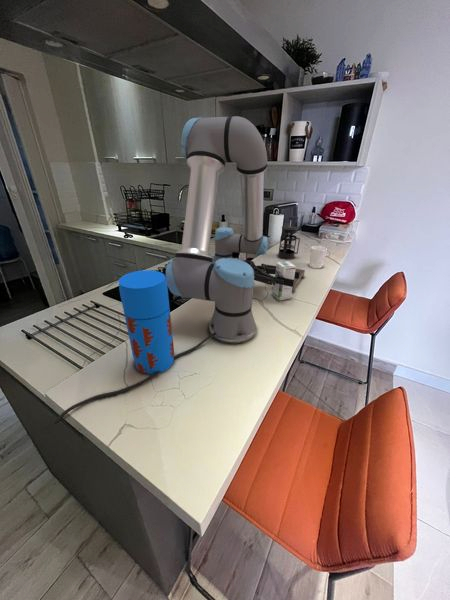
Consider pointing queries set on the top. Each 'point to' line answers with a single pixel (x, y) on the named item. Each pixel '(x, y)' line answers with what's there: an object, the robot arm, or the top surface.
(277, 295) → the syrup box
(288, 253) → the french press
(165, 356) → the thermos
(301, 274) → the brown rectangular block
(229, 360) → the top surface
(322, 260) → the white cup
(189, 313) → the top surface
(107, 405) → the top surface
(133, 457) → the top surface
